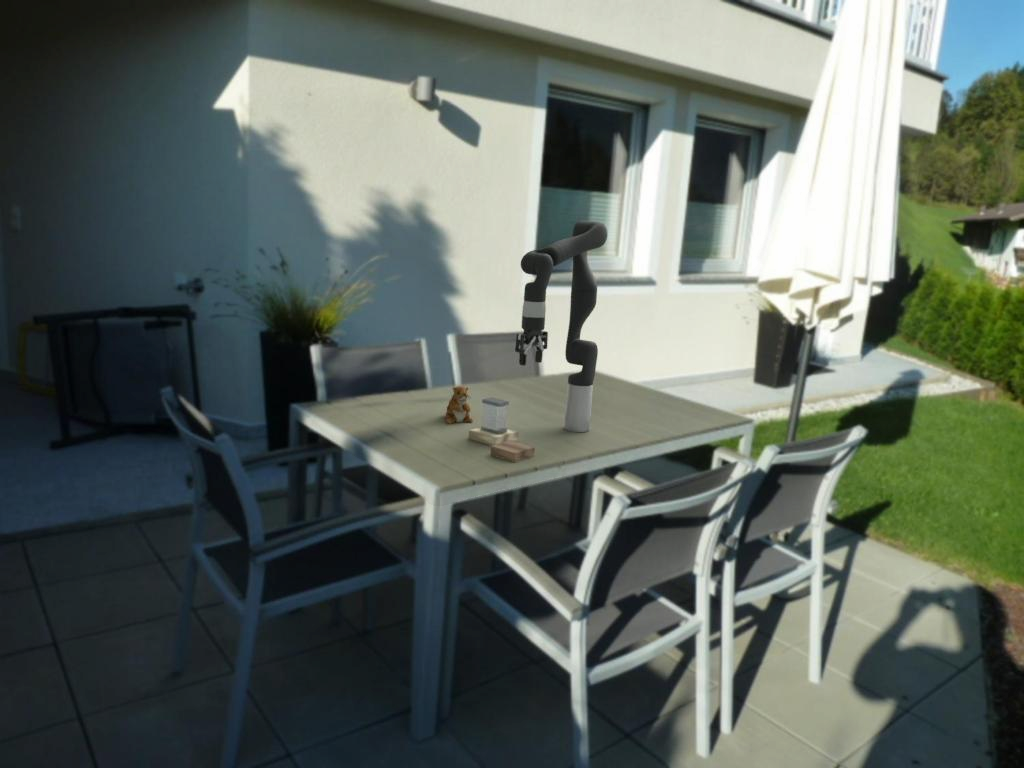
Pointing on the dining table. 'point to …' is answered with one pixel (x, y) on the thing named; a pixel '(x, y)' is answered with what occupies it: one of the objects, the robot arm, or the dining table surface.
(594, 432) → the dining table surface
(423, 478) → the dining table surface
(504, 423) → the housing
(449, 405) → the stuffed squirrel
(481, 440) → the cream slab
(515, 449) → the walnut stand
